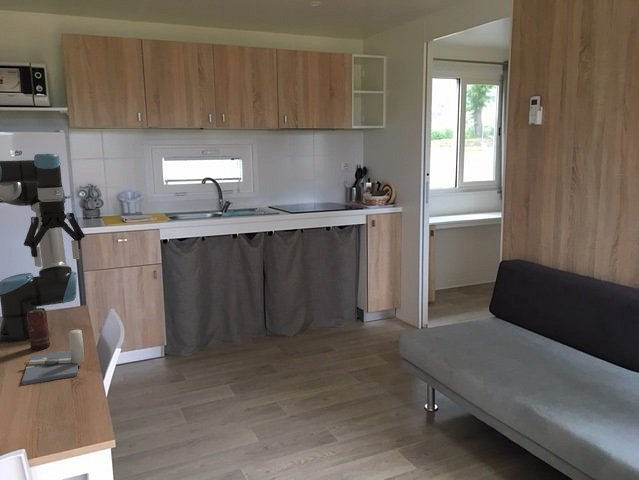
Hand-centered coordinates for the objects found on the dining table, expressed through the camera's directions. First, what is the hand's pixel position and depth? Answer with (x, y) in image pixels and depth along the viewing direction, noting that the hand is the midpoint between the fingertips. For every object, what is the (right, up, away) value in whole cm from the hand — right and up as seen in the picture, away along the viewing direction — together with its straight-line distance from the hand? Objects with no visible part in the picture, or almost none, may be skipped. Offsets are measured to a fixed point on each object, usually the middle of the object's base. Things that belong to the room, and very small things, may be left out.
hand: (58, 262), depth 180 cm
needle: (+3, -32, -9) cm, 33 cm away
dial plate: (+3, -34, -9) cm, 35 cm away
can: (-11, -31, +9) cm, 34 cm away
